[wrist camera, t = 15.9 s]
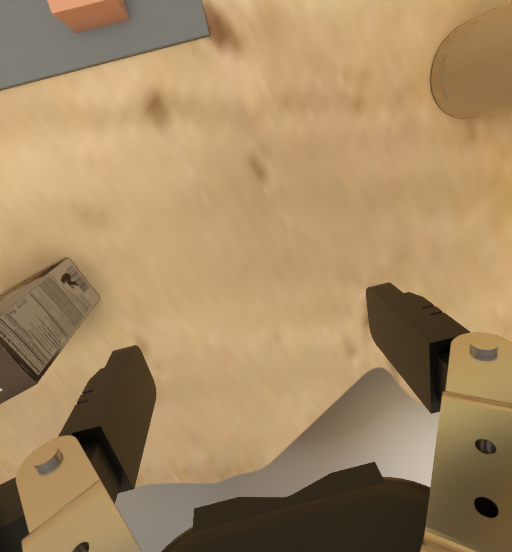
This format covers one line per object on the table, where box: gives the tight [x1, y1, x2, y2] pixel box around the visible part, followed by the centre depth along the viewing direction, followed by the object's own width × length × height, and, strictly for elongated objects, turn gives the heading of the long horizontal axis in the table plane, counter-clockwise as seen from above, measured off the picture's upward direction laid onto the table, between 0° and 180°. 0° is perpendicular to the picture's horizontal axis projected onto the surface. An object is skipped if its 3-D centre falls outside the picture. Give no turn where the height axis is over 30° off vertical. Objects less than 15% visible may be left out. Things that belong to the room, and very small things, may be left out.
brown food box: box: [0, 258, 100, 404], centre depth 33 cm, size 9×6×16 cm
